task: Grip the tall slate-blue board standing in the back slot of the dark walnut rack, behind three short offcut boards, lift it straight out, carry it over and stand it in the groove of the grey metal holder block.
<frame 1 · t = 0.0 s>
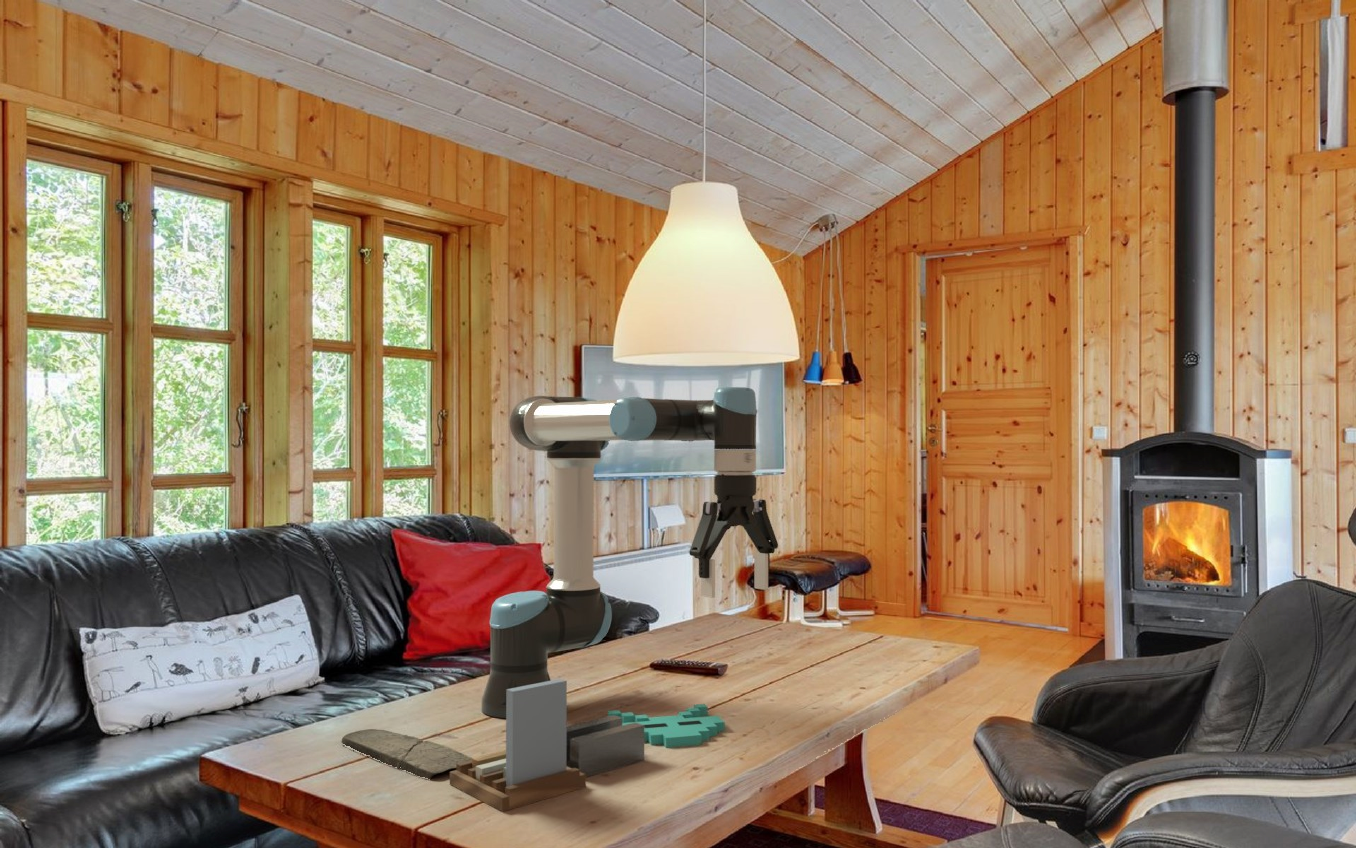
hand: (735, 593, 172), 28 cm above the table, tool pointing down, fingers open, 13 cm apart
rack: (517, 785, 154), on the table
offcut A: (499, 778, 158), resting in rack
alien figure: (669, 734, 184), on the table
stone slab: (406, 759, 169), on the table
offcut B: (508, 785, 155), resting in rack
holder: (597, 763, 165), on the table
tall sheet: (536, 795, 150), resting in rack
offcut C: (527, 788, 153), resting in rack
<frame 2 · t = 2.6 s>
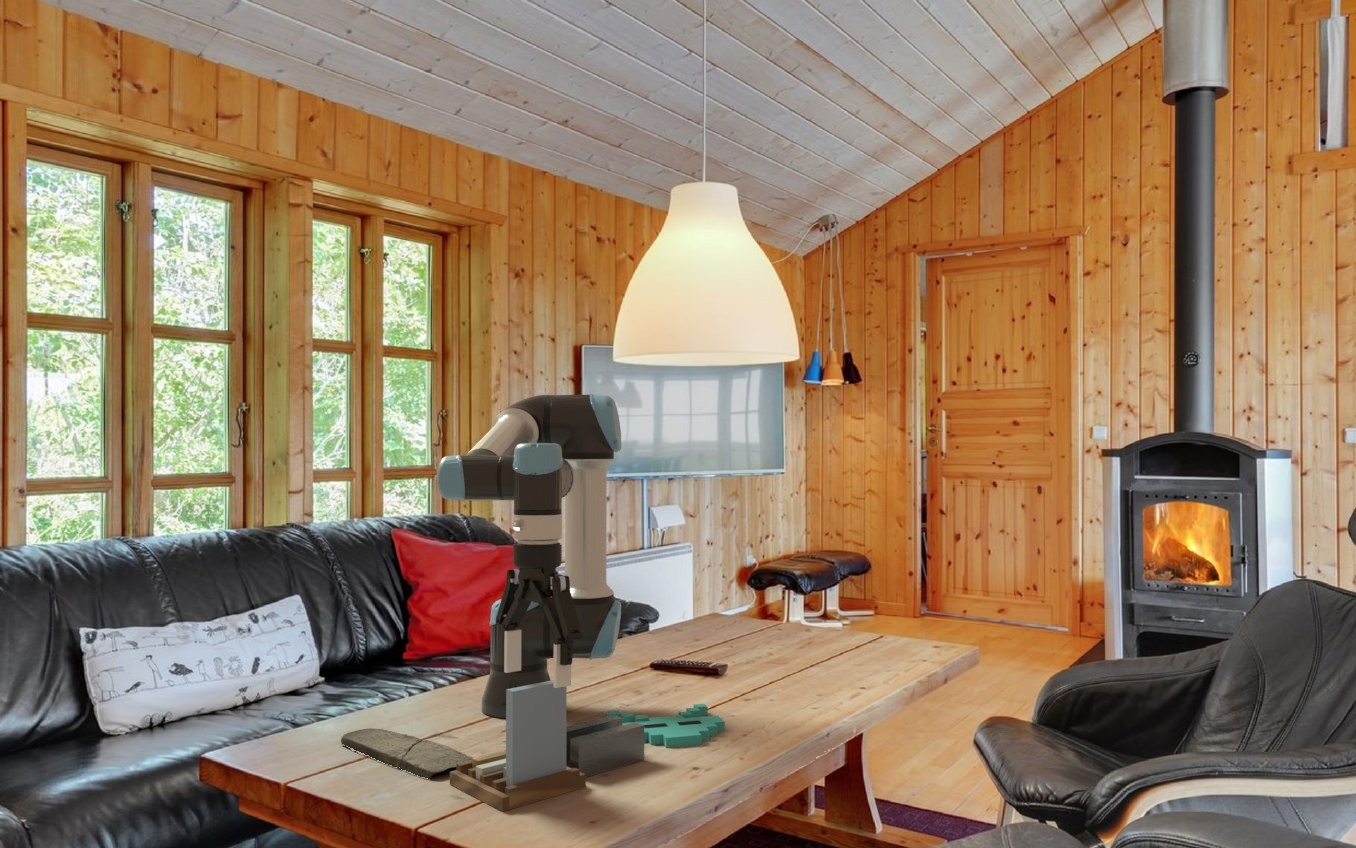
hand: (536, 678, 150), 18 cm above the table, tool pointing down, fingers open, 13 cm apart
nothing on the table moved.
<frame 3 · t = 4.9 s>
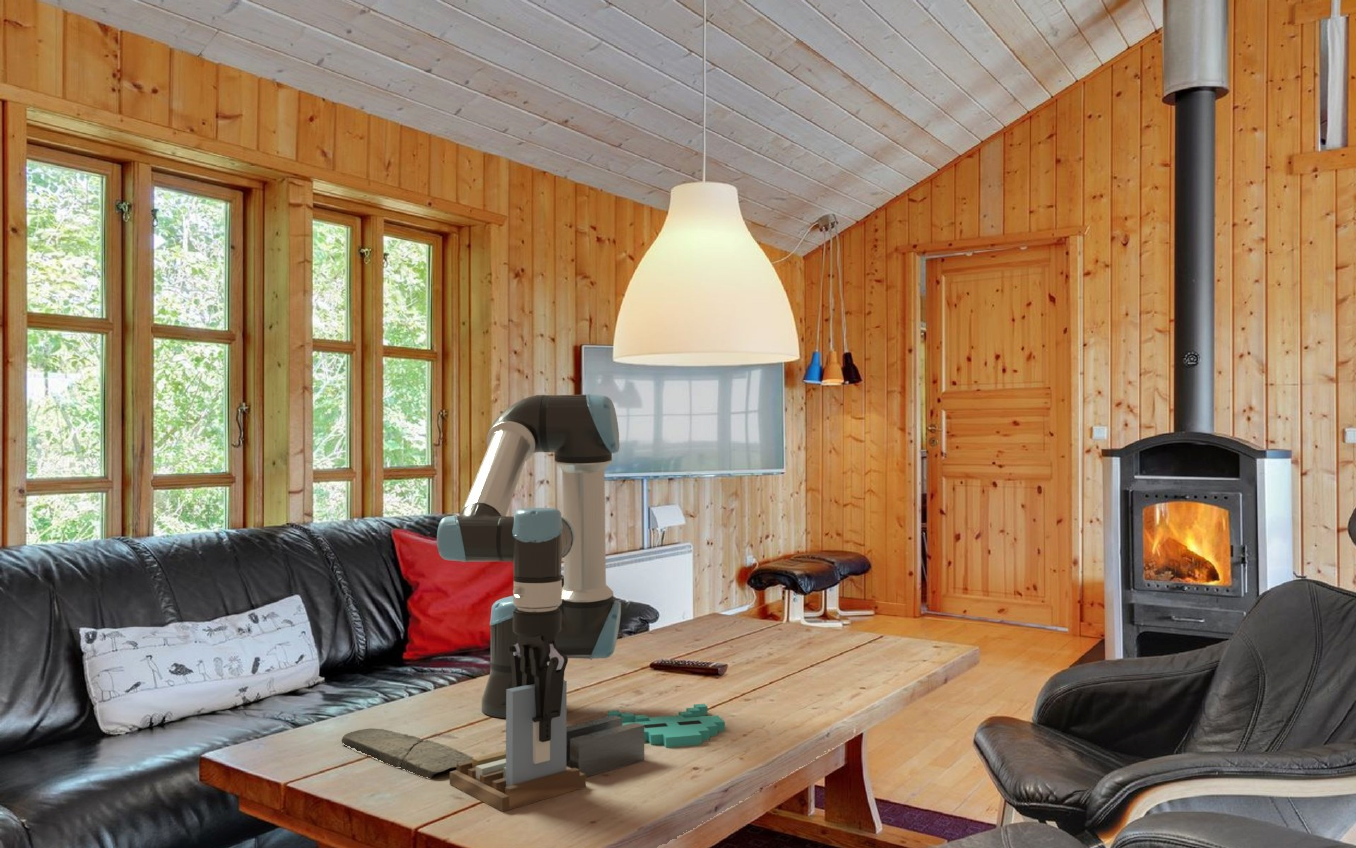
hand: (536, 759, 150), 5 cm above the table, tool pointing down, fingers closed on tall sheet, 2 cm apart
tall sheet: (536, 795, 150), resting in rack, touching gripper
everything else where it was.
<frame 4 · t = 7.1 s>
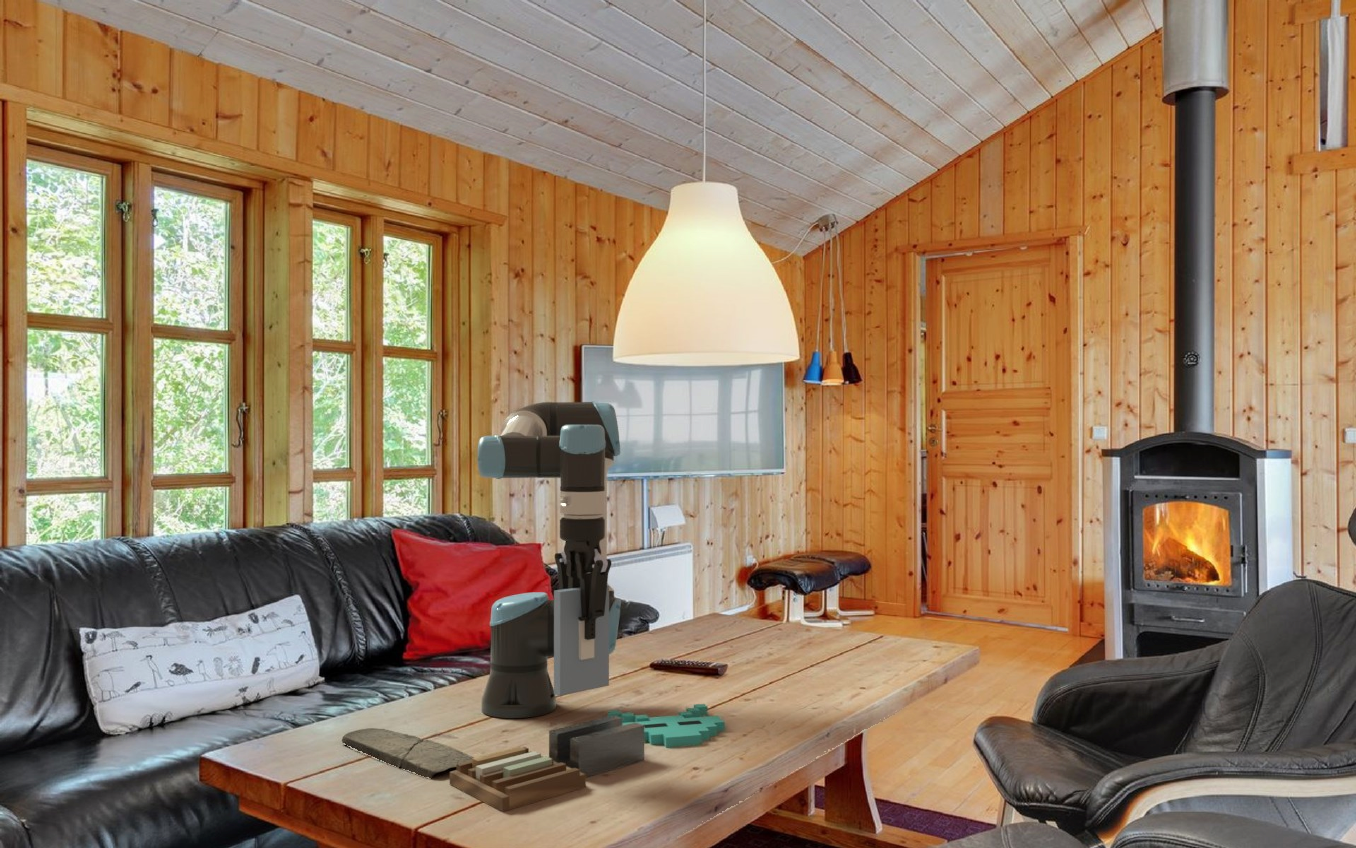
hand: (582, 656, 162), 19 cm above the table, tool pointing down, fingers closed on tall sheet, 2 cm apart
tall sheet: (581, 689, 162), point 13 cm above the table, touching gripper
everything else where it was.
when the fingers open (7 cm above the table, at t = 9.4 s): tall sheet stays where it is, resting on holder.
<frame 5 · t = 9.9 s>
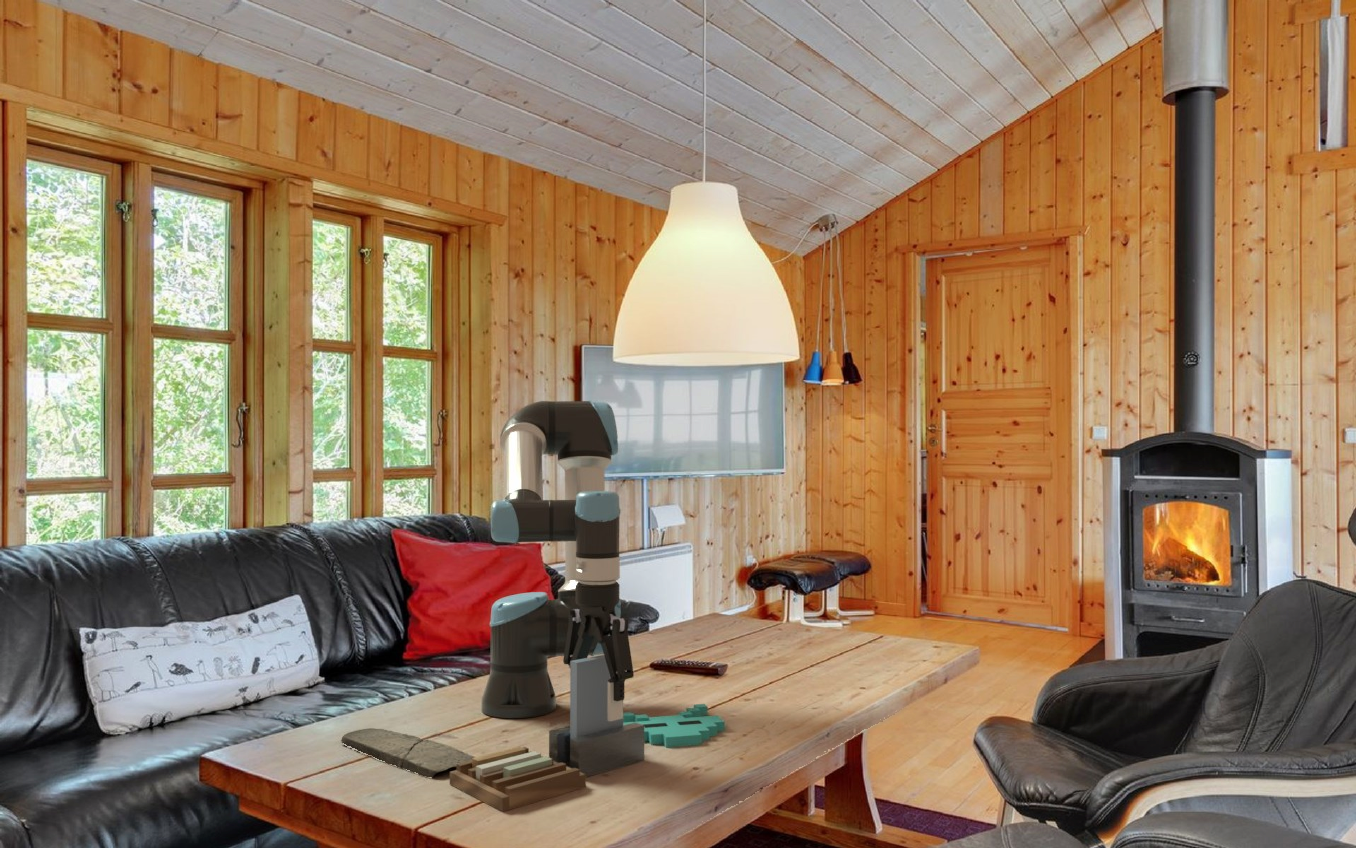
hand: (597, 713, 165), 9 cm above the table, tool pointing down, fingers open, 9 cm apart
tall sheet: (597, 757, 165), point 1 cm above the table, touching holder
everything else where it was.
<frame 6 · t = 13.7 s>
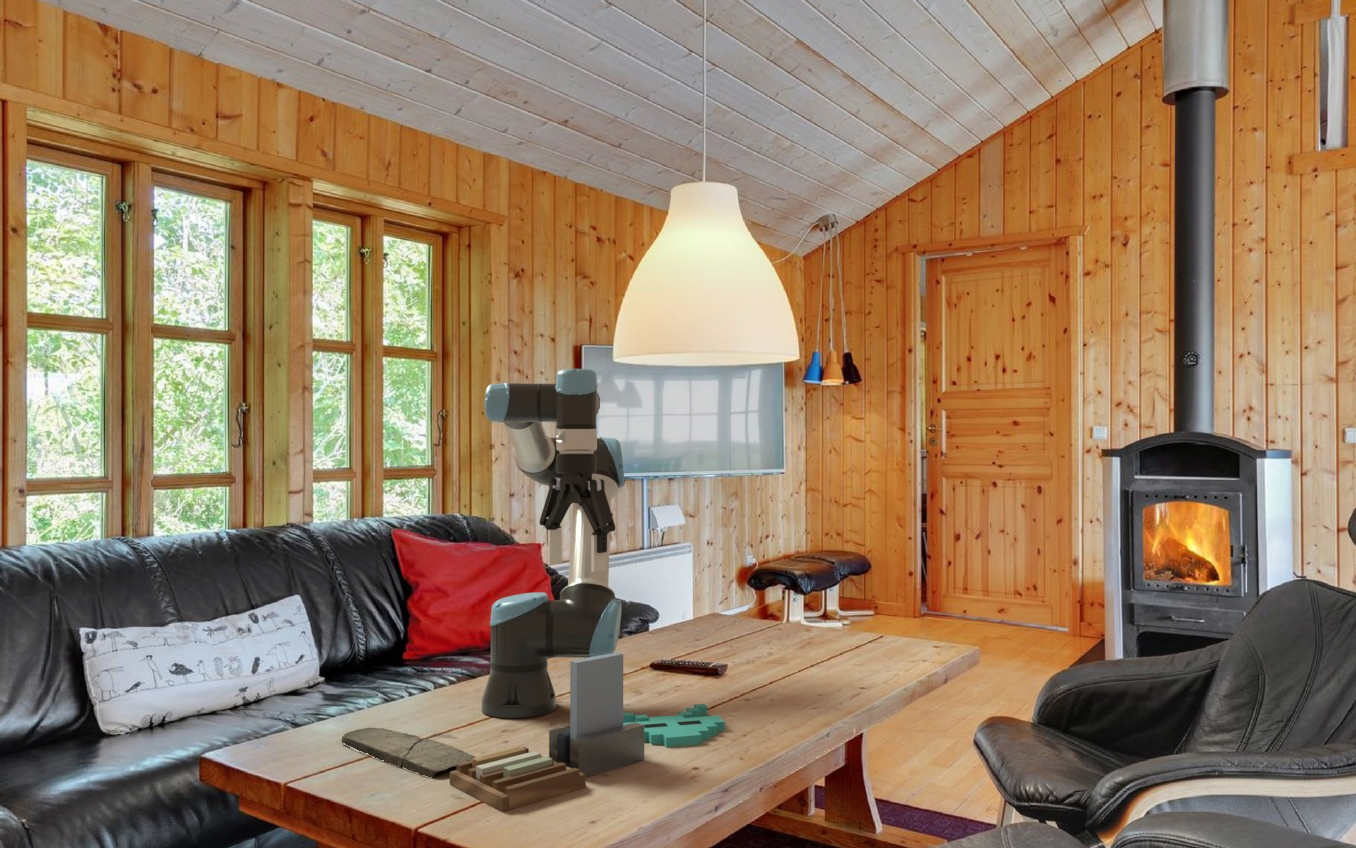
hand: (576, 567, 179), 32 cm above the table, tool pointing down, fingers open, 13 cm apart
nothing on the table moved.
at the end: tall sheet inside the target area on the holder (0.0 cm from its centre), point 1.0 cm above the holder's base; tall sheet tilted 0°; the gripper is holding nothing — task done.
